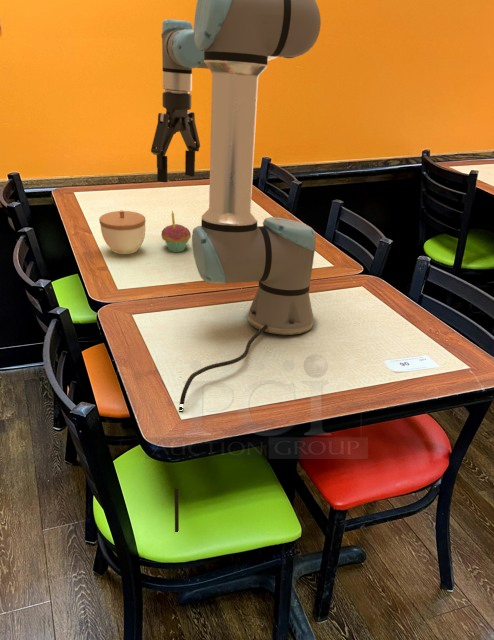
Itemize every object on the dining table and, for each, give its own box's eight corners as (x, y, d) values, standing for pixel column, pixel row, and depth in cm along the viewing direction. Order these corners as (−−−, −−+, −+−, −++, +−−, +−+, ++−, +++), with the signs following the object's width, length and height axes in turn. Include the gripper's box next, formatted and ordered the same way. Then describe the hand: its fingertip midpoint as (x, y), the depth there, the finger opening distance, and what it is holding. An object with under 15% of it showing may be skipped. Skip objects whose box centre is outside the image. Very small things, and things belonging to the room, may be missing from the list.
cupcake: (185, 256, 164) (184, 214, 157) (157, 252, 165) (155, 211, 158) (194, 246, 171) (193, 205, 164) (167, 242, 172) (165, 202, 165)
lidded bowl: (152, 243, 168) (149, 205, 162) (140, 259, 158) (137, 220, 152) (110, 240, 169) (106, 202, 162) (96, 255, 159) (91, 216, 152)
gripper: (190, 90, 158) (189, 171, 169) (135, 90, 138) (138, 182, 149) (214, 93, 155) (211, 175, 166) (161, 93, 136) (161, 186, 147)
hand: (176, 178), depth 158 cm, fingers open, 13 cm apart
